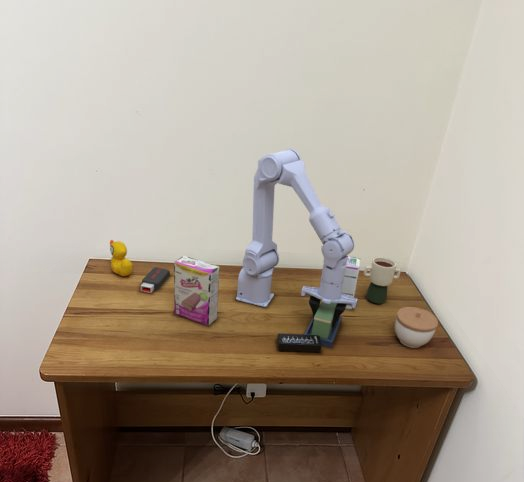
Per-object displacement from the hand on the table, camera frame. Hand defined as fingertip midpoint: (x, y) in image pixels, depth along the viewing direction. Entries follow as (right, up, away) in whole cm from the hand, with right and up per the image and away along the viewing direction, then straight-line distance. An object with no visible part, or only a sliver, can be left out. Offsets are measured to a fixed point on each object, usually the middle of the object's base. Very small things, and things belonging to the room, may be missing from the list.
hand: (324, 323), depth 132 cm
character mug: (+18, +6, +18) cm, 27 cm away
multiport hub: (-7, -6, -6) cm, 11 cm away
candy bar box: (-35, +1, +2) cm, 35 cm away
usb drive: (-49, +11, +16) cm, 53 cm away
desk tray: (0, -2, +1) cm, 3 cm away
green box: (0, -1, +1) cm, 1 cm away
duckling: (-60, +15, +19) cm, 65 cm away
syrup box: (+7, +5, +15) cm, 17 cm away
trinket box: (+24, -5, +1) cm, 24 cm away
